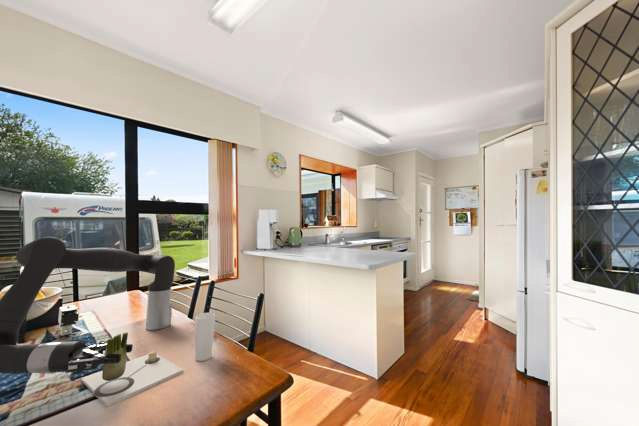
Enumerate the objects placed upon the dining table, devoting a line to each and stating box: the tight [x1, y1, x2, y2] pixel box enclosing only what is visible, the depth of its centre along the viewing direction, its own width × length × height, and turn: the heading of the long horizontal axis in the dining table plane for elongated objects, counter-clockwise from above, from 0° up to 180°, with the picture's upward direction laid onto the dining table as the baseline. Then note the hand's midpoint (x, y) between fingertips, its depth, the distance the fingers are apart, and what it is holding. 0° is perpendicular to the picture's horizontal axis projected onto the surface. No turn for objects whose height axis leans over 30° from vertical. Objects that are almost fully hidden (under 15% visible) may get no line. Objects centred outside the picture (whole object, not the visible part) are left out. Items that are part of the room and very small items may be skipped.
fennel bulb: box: [102, 332, 129, 381], centre depth 74 cm, size 6×5×12 cm
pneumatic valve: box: [57, 304, 80, 337], centre depth 111 cm, size 6×12×12 cm, turn 50°
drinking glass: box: [194, 312, 216, 362], centre depth 93 cm, size 7×7×15 cm
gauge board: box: [80, 350, 184, 408], centre depth 80 cm, size 20×20×3 cm
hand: (126, 352), depth 75 cm, fingers closed on fennel bulb, 5 cm apart
